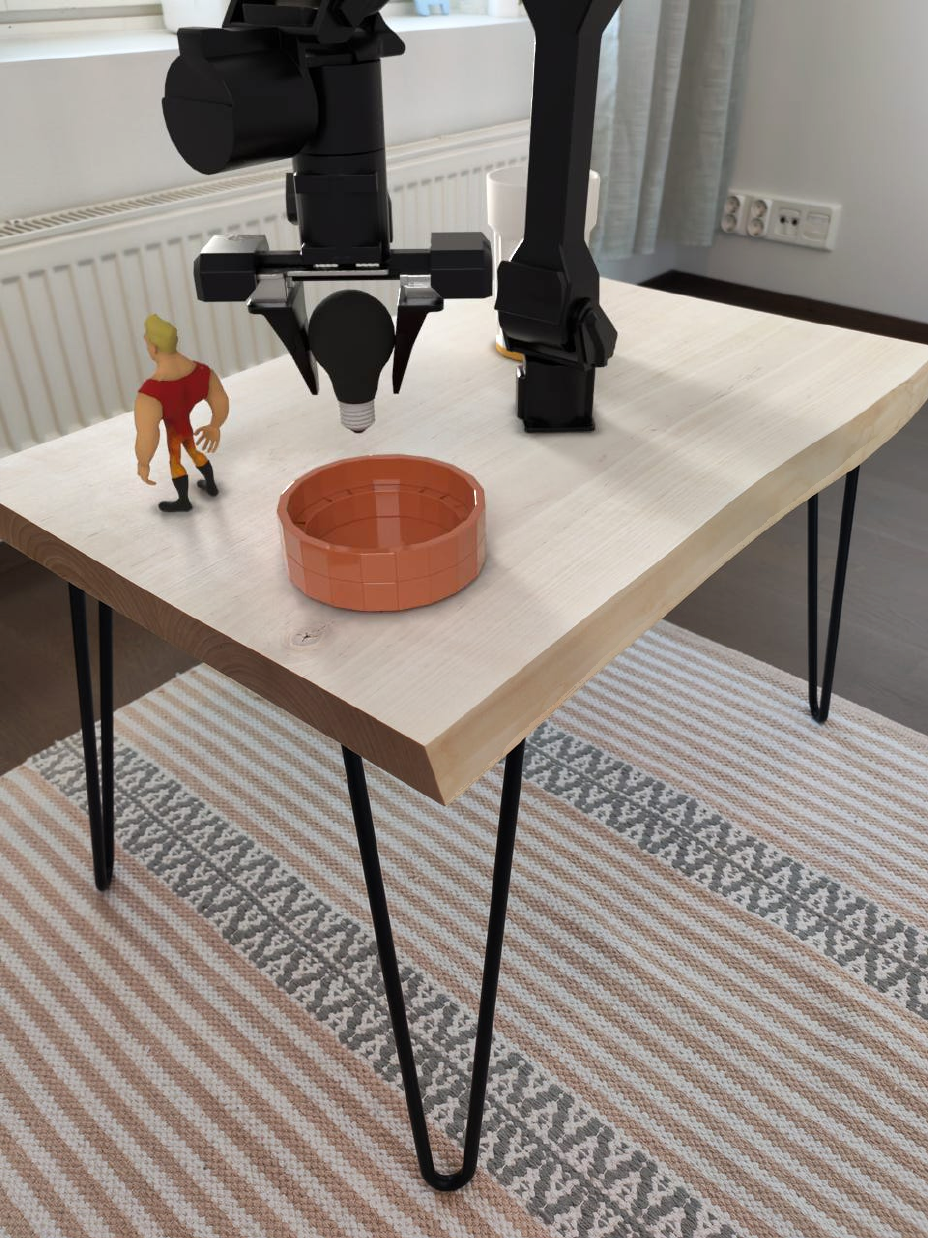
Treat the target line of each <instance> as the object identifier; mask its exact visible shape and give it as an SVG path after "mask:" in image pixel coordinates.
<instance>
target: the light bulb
mask: <svg viewBox="0 0 928 1238" xmlns="http://www.w3.org/2000/svg"><path fill="white" fill-rule="evenodd" d="M308 323H309V326H308V341H309V345H310V349H311V352H312V354H313V356H314V358H315V359H316V362H317V364H319V366H320V367H321V369H323V370H324V371H325V373H326V374H327V375H328V377H329V381H330V383H331V385H332V389H333V392H334V395H335V397H336V400H337V402H338V407H339V416H340V418H339V420H340V423H341V425H342V426H343V427H344V428H346V429H348V430H350V431H351V432H353V433H354V434H363V433H365V432H366V431H367V430H368V429H369V428H371V427H372V426H373V425H374V423H375V422H376V418H375V417H376V413H375V412H376V411H375V400H376V396H377V392H378V388H379V382H380V377H381V373H382V371H383V370H384V368H385V366H386V365H387V363H388V362H389V360H390V359H391V356H392V354H393V353H394V346H395V334H396V326H395V324H394V321H393V317H392V316H391V313H390V312H389V310H388V308H387V307H386V305H384V304H383V302H381V301H380V300H379V298H377V297H376V296H374V295H372V294H371V293H368V292H366V291H363V290H360V289H350V288H349V289H347V288H346V289H341V290H337V291H334V292H332V293H330V294H329V295H327V296H326V297H324V298H323V299H321V300H320V302H319V303H318V304H317V305H316V306H315V307H314V309H313V311H312V314H311V315H310V317H309V319H308Z"/></svg>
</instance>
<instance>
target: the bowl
mask: <svg viewBox="0 0 928 1238" xmlns="http://www.w3.org/2000/svg"><path fill="white" fill-rule="evenodd" d="M486 511H487V508H486V496H485V489H484V488H483V487H482V485H481V484H480V483H479V482H478V480H477V479H476V477H474V475H472V474H470V473H469V472H468V471H465V470H464V469H461V468H460V467H458V466H457V465H455V464H453V463H450V462H446V461H443V460H439V459H436V458H432V457H429V456H420V455H412V454H404V453H382V454H381V453H380V454H365V455H360V456H352V457H348V458H341V459H338V460H334V461H332V462H329V463H326V464H323V465H321V466H317V467H314V468H313V469H312V470H309V471H308V472H305V473H304V474H302V475H300V476H299V477H297V478H295V479H294V480H293V481H292V482H290V484H288V486H287V487H286V489H284V490H283V491H282V492H281V494H280V495H279V500H278V503H277V507H276V515H277V523H278V524H277V525H278V529H279V530H278V531H279V537H280V545H281V552H282V560H283V566H284V569H285V571H286V574H287V576H288V579H289V581H290V583H292V584H293V585H294V586H295V587H296V588H298V589H299V590H300V591H301V592H302V593H303V594H305V596H307V597H309V598H312V599H314V600H316V601H318V602H322V603H324V604H326V605H329V606H331V607H334V608H340V609H347V610H353V611H358V612H389V611H390V612H393V611H403V610H407V609H413V608H419V607H423V606H425V605H431V604H434V603H436V602H439V601H440V600H442V599H445V598H447V597H449V596H450V597H451V596H452V595H454V594H457V593H459V592H460V591H461V590H462V589H463V588H465V587H466V586H467V585H469V584H470V583H471V582H472V581H473V580H474V579H475V578H477V577H478V576H479V573H480V571H481V569H482V567H483V566H484V563H485V561H486V558H487V556H486V555H487V554H486V551H487V550H486V547H487V546H486V545H487V544H486V543H487V541H486V539H487V538H486V536H487V535H486V534H487V533H486V528H487V527H486V523H487V521H486V520H487V519H486V517H487V516H486Z"/></svg>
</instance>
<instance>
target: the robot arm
mask: <svg viewBox="0 0 928 1238" xmlns="http://www.w3.org/2000/svg"><path fill="white" fill-rule="evenodd" d="M623 1H624V0H520V2H521V4H522V7H523V8H524V11H525V13H526V15H527V19H528V20H529V22H530V25H531V27H532V29H533V32H534V48H533V66H532V82H531V97H530V98H531V100H530V117H529V133H528V135H529V136H528V153H527V156H528V157H527V165H528V169H527V187H526V205H525V223H524V235H523V239H522V241H521V242H520V244H519V245H518V247H517V249H516V250H515V252H514V253H513V255H512V256H511V258H510V260H509V261H508V260H502V261H501V262H500V264H499V266H498V269H497V297H496V302H494V306H493V310H494V311H496V310H498V321H499V325H500V328H501V329H502V333H503V337H504V342H505V346H506V350H507V351H508V352H516V353H520V354H523V361H522V365H518V366H517V367H516V368H515V411H516V417H517V419H518V420H521V422H522V429H523V432H524V433H527V434H537V433H538V434H539V433H543V434H544V433H574V432H575V433H577V432H579V433H581V432H584V433H585V432H586V433H587V432H594V431H596V422H595V419H594V400H595V399H594V397H595V384H596V370H597V369H598V368H606V366H607V367H608V365H609V359H611V358H613V357H614V356H613V355H614V353H615V350H616V344H617V339H618V337H619V335H618V334H619V333H618V330H617V329H616V328H615V326H614V325H613V323H612V321H611V319H610V318H609V317H608V314H607V313H606V312H605V311H604V309H603V307H602V306H601V305H600V297H601V296H600V295H601V294H600V292H601V291H600V288H601V286H600V285H601V284H600V283H601V282H600V281H601V280H600V279H601V278H600V277H601V276H600V272H599V270H598V267H597V265H596V263H595V261H594V258H593V256H592V254H591V252H590V251H591V250H590V249H588V247H587V244H586V242H585V240H584V231H585V220H586V208H587V197H588V186H589V174H590V170H591V162H592V151H593V150H592V149H593V140H594V138H593V137H594V130H595V129H594V127H595V118H596V117H595V116H596V106H597V105H596V104H597V93H598V82H599V72H600V71H599V70H600V69H599V68H600V60H601V49H602V48H601V47H602V40H603V34H604V32H605V31H606V29H607V27H608V26H609V24H610V23H611V21H612V19H613V18H614V17H615V15H616V12H617V11H618V9H619V8H620V6H621V5H622V3H623ZM390 2H391V0H230V1H229V4H228V7H227V10H226V13H225V16H224V18H223V21H222V24H221V27H208V26H207V27H206V26H185V27H183V26H182V27H178V28H177V31H176V38H177V46H178V52H179V55H178V56H176V57H175V59H174V60H173V61H172V62H171V64H170V66H169V68H168V70H167V73H166V78H165V82H164V96H163V97H162V98H161V108H162V115H163V119H164V122H165V126H166V130H167V132H168V135H169V137H170V140H171V142H172V143H173V145H174V147H175V149H176V151H177V153H178V154H179V155H180V157H181V158H182V159H183V161H184V162H185V163H186V164H187V165H188V166H189V167H191V168H192V170H194V171H196V172H198V173H200V174H201V175H205V176H212V175H213V176H214V175H218V174H222V173H227V172H233V171H235V170H240V169H245V168H250V167H255V166H259V165H264V164H269V163H274V162H279V161H284V160H289V159H291V169H292V172H286V173H285V211H286V218H287V221H288V222H289V223H290V224H291V225H293V226H297V227H298V236H299V246H300V249H292V250H291V249H289V250H287V249H286V250H270V245H269V242H268V239H267V237H266V234H215V235H213V236H212V237H211V239H210V240H209V241H208V242H207V244H206V245H205V246H204V247H203V248H202V250H201V251H200V253H199V254H198V255H197V257H196V258H195V259H194V260H193V271H192V272H193V273H192V274H193V281H194V286H195V292H196V299H197V300H198V301H201V302H202V303H241V302H242V303H243V302H247V300H248V299H249V300H248V303H247V312H248V313H249V314H250V315H261V316H262V317H264V319H265V320H266V321H267V323H268V325H270V327H271V329H272V330H273V331H274V333H275V334H276V335H277V337H278V338H279V339H280V341H281V342H282V344H283V345H284V347H285V348H286V350H287V351H288V353H289V355H290V357H291V358H292V361H293V362H294V364H295V367H296V368H297V369H298V372H299V374H300V375H301V377H302V378H303V381H304V383H305V385H306V386H307V389H308V391H310V394H311V395H312V396H319V393H320V380H319V379H320V377H319V367H318V362H317V361H316V359H315V358H314V356H313V354H312V352H311V349H310V345H309V341H308V326H309V319H308V313H307V308H306V297H305V296H306V295H305V286H304V282H350V281H351V282H352V281H353V282H355V281H399V292H398V293H399V294H398V300H397V301H398V302H397V310H396V311H397V312H396V321H395V322H396V323H395V346H394V349H393V361H392V371H391V379H392V380H391V383H392V394H393V395H399V394H400V393H401V388H402V385H403V381H404V378H405V375H406V372H407V371H406V370H407V367H408V364H409V361H410V358H411V354H412V350H413V348H414V346H415V342H416V340H417V337H418V336H419V334H420V332H421V329H422V327H423V326H424V323H425V320H426V318H427V316H428V314H430V313H439V312H443V311H444V309H445V300H476V299H477V300H478V299H479V300H480V299H481V300H483V299H484V300H485V299H487V298H490V297H493V295H494V294H493V293H494V291H493V289H494V287H493V285H494V284H493V281H494V279H493V278H494V267H493V265H494V264H493V261H494V260H493V259H494V257H493V251H492V245H491V244H492V243H491V240H490V239H489V238H488V236H486V235H485V233H483V231H457V232H455V231H453V232H452V231H450V232H447V231H444V232H443V231H442V232H440V231H439V232H430V248H391V244H392V243H393V242H394V222H393V219H394V218H393V202H392V199H391V196H390V193H389V190H388V176H387V175H388V174H387V155H386V136H385V135H386V134H385V133H386V132H385V116H384V115H385V113H384V97H383V95H384V94H383V93H384V92H383V75H382V59H384V58H391V57H393V58H394V57H399V56H402V55H404V54H405V52H406V43H405V42H404V40H402V38H401V37H400V36H399V34H397V33H396V32H395V31H394V30H393V29H392V28H390V26H389V25H388V24H387V23H386V21H385V20H384V18H383V16H382V14H381V12H380V11H381V10H382V9H383V8H384V7H386V5H387V4H388V3H390ZM317 265H318V266H317ZM321 265H324V266H321ZM326 265H331V266H326ZM333 265H335V266H333ZM336 265H337V266H336ZM358 265H361V266H358ZM596 368H597V369H596Z"/></svg>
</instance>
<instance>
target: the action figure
mask: <svg viewBox="0 0 928 1238" xmlns="http://www.w3.org/2000/svg"><path fill="white" fill-rule="evenodd" d="M144 330H145V331H144V333H143V339H144V341H145V343H146V350H147V352H148V354H149V356H150V359H151V360H152V361H154V362H156V364H157V366H156V369H155V371H153V373H152V374H151V375H150V376H148V378H146V379H145V380H144V382H143V383H142V385H141V386H140V388H139V389H138V390H137V395H136V397H135V399H134V405H133V417H134V426H135V430H136V437H135V443H134V453H135V458H136V460H137V464H136V466H137V472H136V474H137V475H138V476H139V477H140V480H141V481H143V482H144V483H145V484H147V485H149V486H156V485H157V482H156V481H153V480H151V479H149V475H150V471H151V466H150V463H151V461H152V460H153V458H154V456H155V454H156V451H157V450H158V446H159V444H160V440H161V439H160V438H161V429H160V423H161V421H162V422H163V424H164V426H165V433H166V445H167V450H168V454H169V455H168V456H169V462H168V464H169V469H170V475H171V482H172V484H173V487H174V488H175V490H176V492H177V497H178V498H176V500H171V501H170V500H169V501H167V500H163V501H160V502H158V504H157V505H158V509H159V510H160V511H162V512H168V513H169V512H170V513H171V512H172V513H173V512H174V513H175V512H190V511H191V510H192V509H193V504H192V503H191V501H190V498H189V486H190V485H189V484H190V483H189V481H190V480H189V473H188V472H187V470H186V468H185V467H184V466H183V464H182V462H181V459H182V447H183V448H184V450H185V451H186V453H187V455H188V456H189V457H190V459H191V460H192V462H193V464H194V465H195V468H196V469H197V470H198V471H199V472H200V473H201V475H202V476H203V479H202V478H201V479H198V481H196V486H197V487H198V488H200V489H202V490H204V491H205V492H206V493H207V495H209V496H210V497H214V496H217V495H218V494H219V489H218V486H217V484H216V482H215V477H214V476H215V475H214V467H213V466H212V463H211V462H210V459H208V457H207V456H206V454H205V453H204V451H206V449H207V451H206V453H207V454H210V453H212V454H214V453H215V452H216V451H217V450H218V448H219V445H220V443H221V442H220V441H221V436H222V435H221V427H222V426H223V425H224V423H226V421H227V419H228V416H229V413H230V399H229V396H228V394H227V391H226V390H225V388H224V386H223V384H222V382H221V380H220V378H219V376H218V374H217V373H216V372H215V370H214V369H212V368H211V367H210V366H209V365H207V364H206V363H204V362H200V361H198V360H192V359H191V358H189V357H188V356H186V355H184V354H182V353H180V352H179V351H178V350H177V346H178V345H177V344H178V342H179V336H178V329H177V328H176V327H175V326H174V324H172V323H170V322H169V321H167V320H165V319H163V318H162V317H160V316H159V315H158V313H154V314H151V315H149V316H147V317H145V320H144ZM202 401H205V402H206V403H207V405H208V407H209V408H210V411H211V417H210V422H209V424H206V425H202V426H200V427H198V428H196V429H195V431H194V428H193V425H192V424H191V413H192V412H193V410H194V408H195V407H196V406H197V404H199V403H201V402H202ZM201 432H202V434H201ZM200 434H201V436H200V437H199V438H198V439H197V441H196V442H195V438H194V437H197V436H199V435H200ZM203 441H204V443H203V445H202V447H201V451H203V452H201V451H200V450H198V449H197V446H199V445H200V444H201V443H202V442H203ZM209 443H210V444H209ZM208 445H209V446H208ZM207 447H208V448H207Z"/></svg>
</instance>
